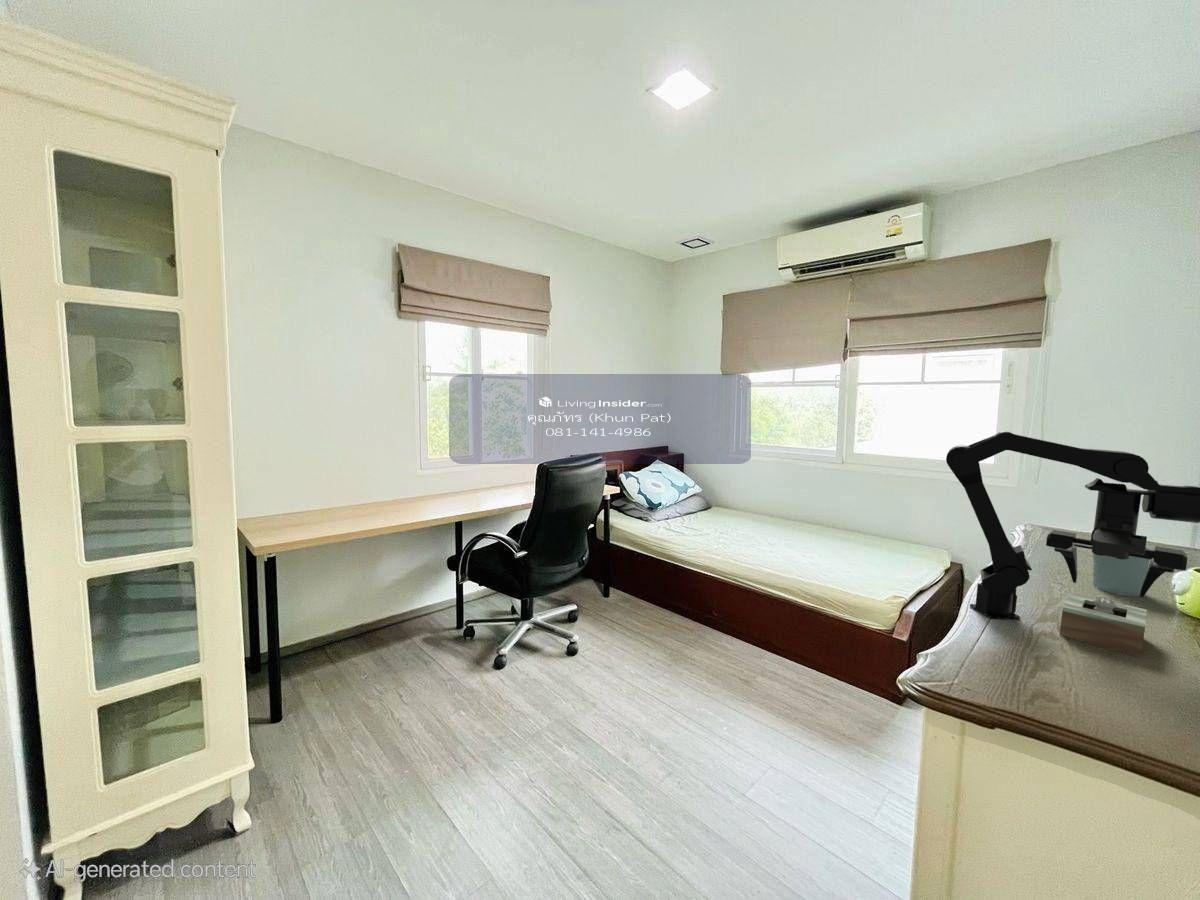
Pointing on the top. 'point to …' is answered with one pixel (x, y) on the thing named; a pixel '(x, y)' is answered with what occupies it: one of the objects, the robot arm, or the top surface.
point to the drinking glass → (1120, 574)
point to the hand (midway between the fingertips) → (1106, 589)
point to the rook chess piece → (1104, 605)
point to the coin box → (1104, 624)
